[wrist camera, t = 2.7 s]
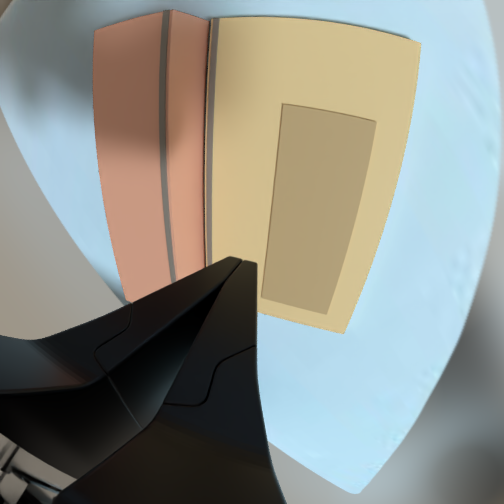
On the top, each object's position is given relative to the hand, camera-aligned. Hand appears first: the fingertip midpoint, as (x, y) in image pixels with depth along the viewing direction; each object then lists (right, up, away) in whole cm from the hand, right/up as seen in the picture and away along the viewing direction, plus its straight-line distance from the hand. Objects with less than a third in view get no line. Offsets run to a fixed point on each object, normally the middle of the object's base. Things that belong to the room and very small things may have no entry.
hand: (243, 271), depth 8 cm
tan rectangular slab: (+3, +4, +7) cm, 8 cm away
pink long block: (-5, +6, +8) cm, 11 cm away
